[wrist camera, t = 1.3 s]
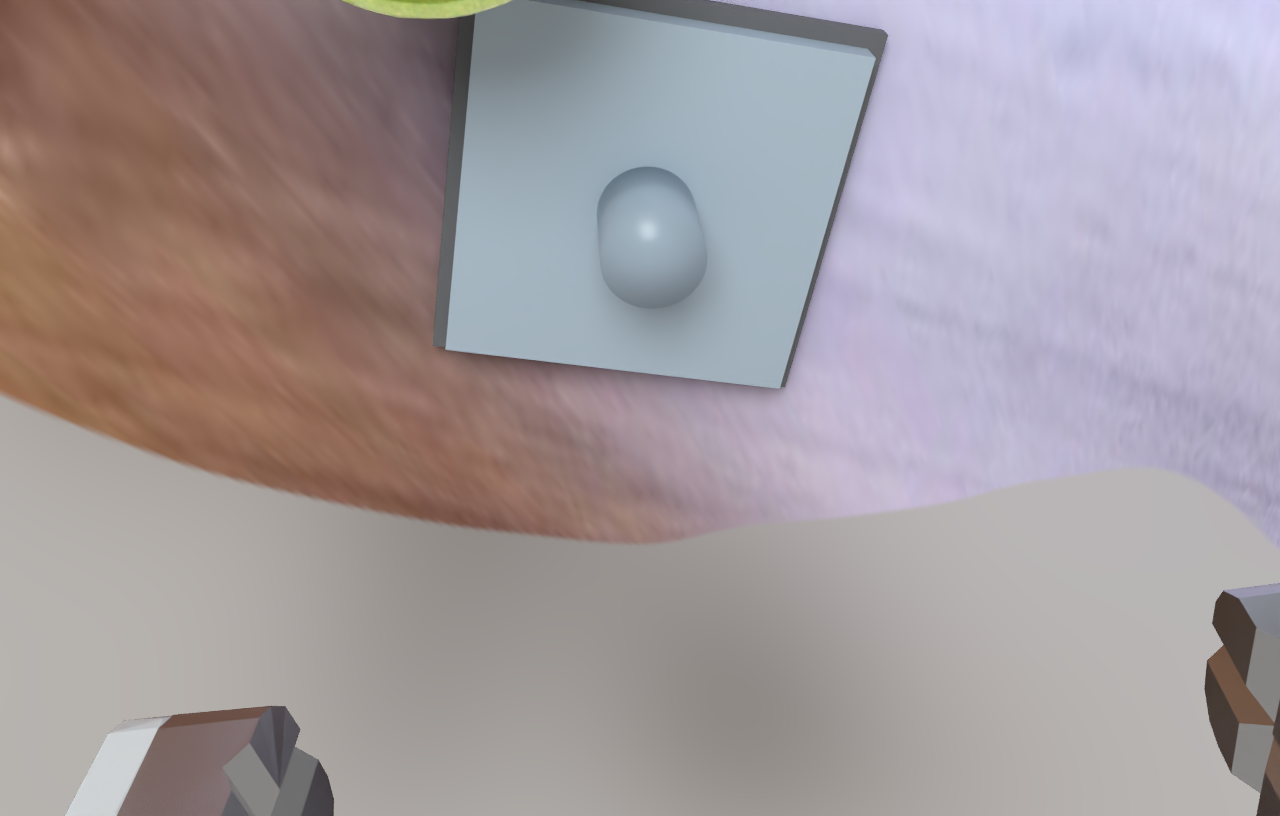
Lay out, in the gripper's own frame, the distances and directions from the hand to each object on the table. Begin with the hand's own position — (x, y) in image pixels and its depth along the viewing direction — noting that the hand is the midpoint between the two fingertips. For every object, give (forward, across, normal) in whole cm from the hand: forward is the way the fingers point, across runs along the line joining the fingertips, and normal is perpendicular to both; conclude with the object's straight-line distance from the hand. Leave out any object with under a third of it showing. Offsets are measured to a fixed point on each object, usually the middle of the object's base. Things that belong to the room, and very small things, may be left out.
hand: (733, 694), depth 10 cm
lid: (+27, +3, +7) cm, 28 cm away
